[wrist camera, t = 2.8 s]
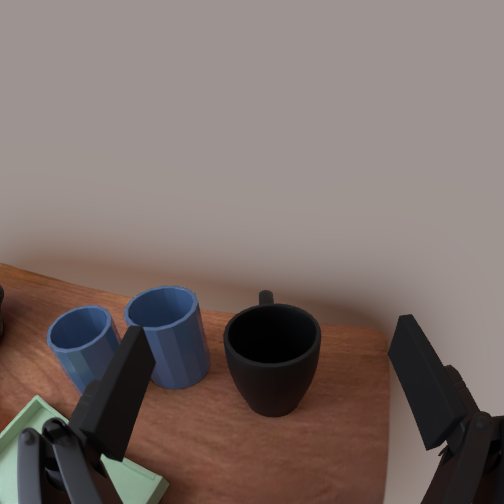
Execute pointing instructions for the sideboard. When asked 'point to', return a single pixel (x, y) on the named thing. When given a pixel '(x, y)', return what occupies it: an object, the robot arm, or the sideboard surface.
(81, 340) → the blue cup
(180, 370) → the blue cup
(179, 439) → the sideboard surface
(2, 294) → the vessel
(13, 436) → the tray
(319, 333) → the mug
